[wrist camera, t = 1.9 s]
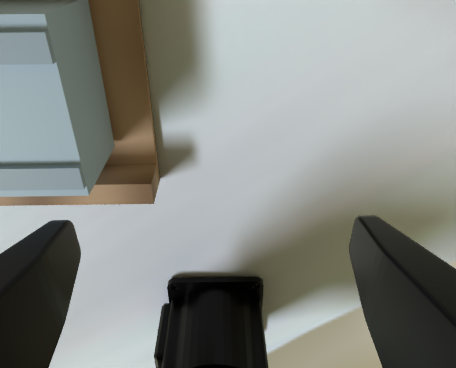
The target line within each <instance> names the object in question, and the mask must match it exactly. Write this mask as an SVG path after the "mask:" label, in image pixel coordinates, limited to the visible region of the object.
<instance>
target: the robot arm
mask: <svg viewBox="0 0 456 368" xmlns="http://www.w3.org/2000/svg"><path fill="white" fill-rule="evenodd" d="M349 253H350V258H351V263H352V267H353V271H354V275H355V279H356V284H357V288H358V292H359V296H360V301H361V305H362V309H363V313H364V316H365V319H366V322H367V326H368V328H369V331H370V334H371V337H372V339H373V342H374V345H375V348H376V350H377V353H378V356H379V359H380V361H381V364H382V367H383V368H456V269H455V268H454V267H452V266H451V265H449V264H448V263H446V262H445V261H443V260H442V259H440V258H439V257H437V256H436V255H434V254H433V253H431V252H430V251H428V250H427V249H425V248H424V247H422V246H421V245H419V244H418V243H416V242H415V241H413V240H412V239H410V238H409V237H407V236H406V235H404V234H403V233H401V232H400V231H398V230H397V229H395V228H394V227H392V226H391V225H389V224H388V223H386V222H385V221H383V220H382V219H380V218H379V217H377V216H358V217H357V218H356V219H355V221H354V226H353V230H352V235H351V239H350V244H349ZM80 258H81V250H80V246H79V242H78V239H77V235H76V232H75V228H74V225H73V223H72V222H71V221H69V220H53V221H50V222H48V223H47V224H45V225H44V226H42V227H40V228H39V229H37V230H36V231H34V232H33V233H31V234H30V235H28V236H27V237H25V238H24V239H22V240H21V241H19V242H18V243H16V244H15V245H13V246H12V247H10V248H8V249H7V250H5V251H4V252H2V253H1V254H0V368H48V367H49V365H50V362H51V359H52V356H53V354H54V351H55V348H56V346H57V343H58V340H59V337H60V335H61V332H62V329H63V326H64V323H65V319H66V316H67V312H68V308H69V304H70V300H71V296H72V292H73V287H74V283H75V279H76V275H77V271H78V267H79V263H80ZM254 284H257V285H254ZM174 285H177V286H174ZM167 289H168V297H169V303H165V304H164V305H163V306H162V310H161V317H160V323H159V329H158V335H157V341H156V347H155V354H154V359H155V365H156V368H268V360H267V352H266V343H265V334H264V325H263V316H262V301H263V280H262V279H261V278H259V277H217V278H172V279H170V280H169V281H168V287H167Z"/></svg>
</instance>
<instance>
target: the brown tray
mask: <svg viewBox="0 0 456 368" xmlns="http://www.w3.org/2000/svg"><path fill="white" fill-rule="evenodd" d="M88 2H89V8H90V13H91V19H92V24H93V30H94V35H95V41H96V46H97V51H98V57H99V62H100V68H101V73H102V79H103V84H104V90H105V95H106V101H107V106H108V111H109V117H110V122H111V128H112V133H113V139H114V144H115V147H114V149H113V150H112V152H111V154H110V156H109V158H108V160H107V162H106V164H105V166H104V168H103V170H102V171H101V173H100V175H99V177H98V179H97V181H96V183H95V185H94V187H93V189H92V191H91V192H90V194H89V196H25V197H0V206H10V205H88V204H154V201H155V197H156V193H157V189H158V185H159V181H160V175H159V167H158V158H157V150H156V141H155V133H154V125H153V116H152V108H151V99H150V91H149V82H148V74H147V65H146V57H145V48H144V40H143V32H142V23H141V15H140V6H139V0H88Z"/></svg>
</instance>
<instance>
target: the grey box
mask: <svg viewBox="0 0 456 368" xmlns="http://www.w3.org/2000/svg"><path fill="white" fill-rule="evenodd" d="M114 147H115V144H114V139H113V133H112V128H111V122H110V117H109V111H108V106H107V101H106V95H105V90H104V84H103V79H102V73H101V68H100V62H99V57H98V51H97V46H96V41H95V35H94V30H93V24H92V19H91V13H90V8H89V2H88V0H0V197H25V196H89V194H90V192H91V191H92V189H93V187H94V185H95V183H96V181H97V179H98V177H99V175H100V173H101V171H102V170H103V168H104V166H105V164H106V162H107V160H108V158H109V156H110V154H111V152H112V150H113V149H114Z"/></svg>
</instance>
